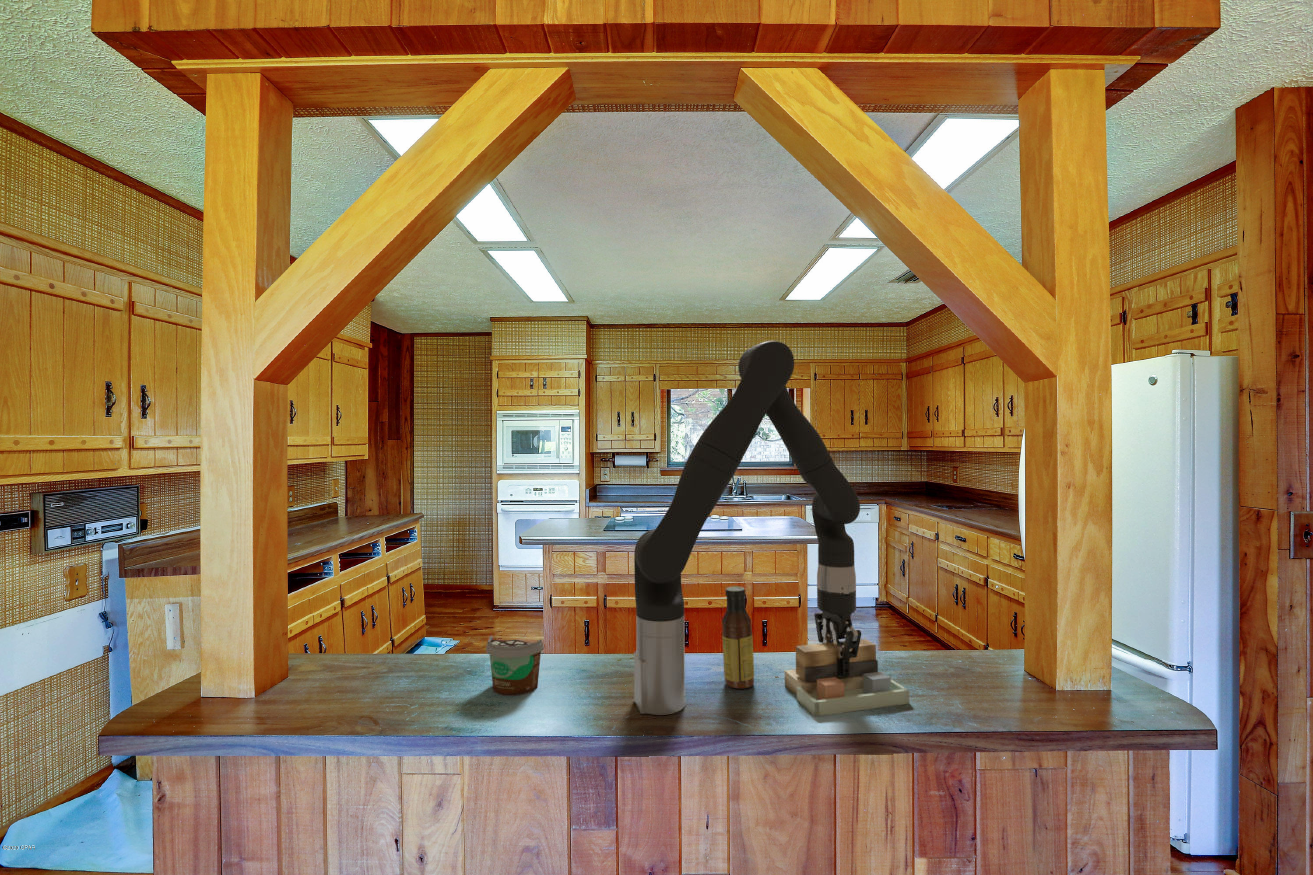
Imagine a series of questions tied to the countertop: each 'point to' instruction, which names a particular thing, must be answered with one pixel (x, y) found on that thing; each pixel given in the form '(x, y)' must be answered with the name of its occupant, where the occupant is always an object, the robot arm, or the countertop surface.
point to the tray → (853, 700)
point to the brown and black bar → (833, 660)
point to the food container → (514, 665)
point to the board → (811, 686)
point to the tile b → (876, 682)
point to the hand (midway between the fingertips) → (837, 671)
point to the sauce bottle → (737, 641)
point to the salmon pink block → (829, 688)
